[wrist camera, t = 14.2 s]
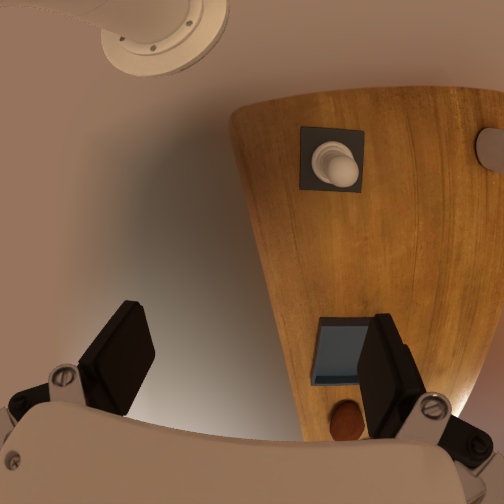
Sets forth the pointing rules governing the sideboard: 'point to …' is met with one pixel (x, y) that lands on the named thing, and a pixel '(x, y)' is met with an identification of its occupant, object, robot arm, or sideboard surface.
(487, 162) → the beverage can
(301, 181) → the mat
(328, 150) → the chess piece
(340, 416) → the potato
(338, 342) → the tray
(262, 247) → the sideboard surface
